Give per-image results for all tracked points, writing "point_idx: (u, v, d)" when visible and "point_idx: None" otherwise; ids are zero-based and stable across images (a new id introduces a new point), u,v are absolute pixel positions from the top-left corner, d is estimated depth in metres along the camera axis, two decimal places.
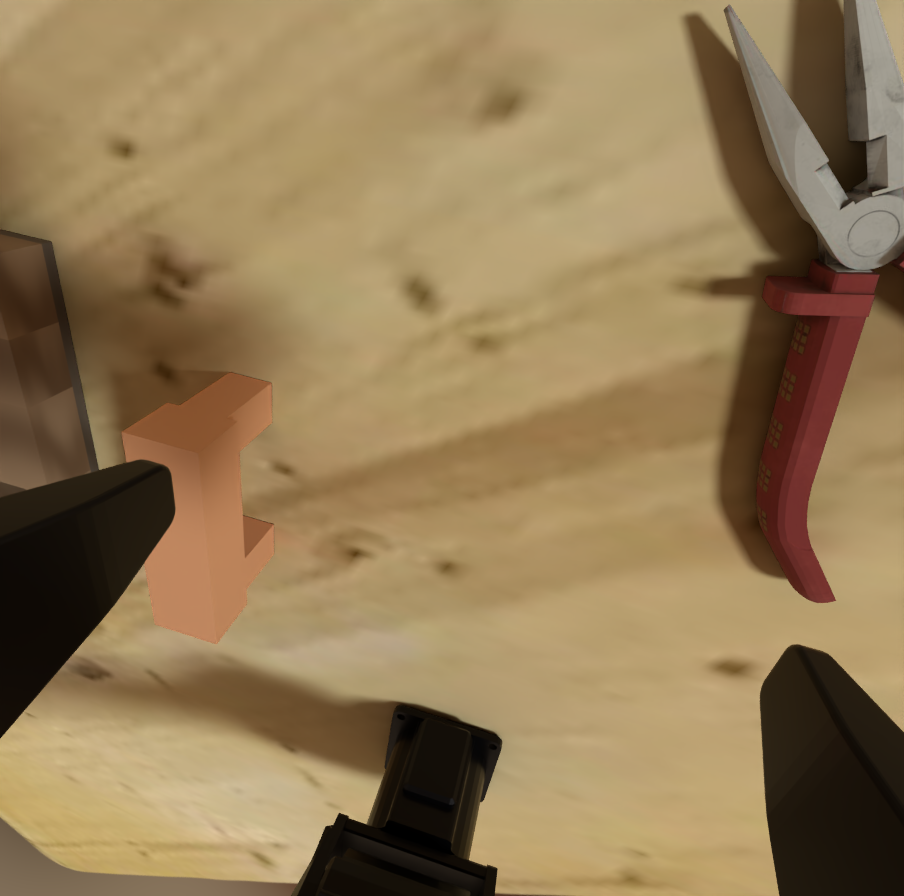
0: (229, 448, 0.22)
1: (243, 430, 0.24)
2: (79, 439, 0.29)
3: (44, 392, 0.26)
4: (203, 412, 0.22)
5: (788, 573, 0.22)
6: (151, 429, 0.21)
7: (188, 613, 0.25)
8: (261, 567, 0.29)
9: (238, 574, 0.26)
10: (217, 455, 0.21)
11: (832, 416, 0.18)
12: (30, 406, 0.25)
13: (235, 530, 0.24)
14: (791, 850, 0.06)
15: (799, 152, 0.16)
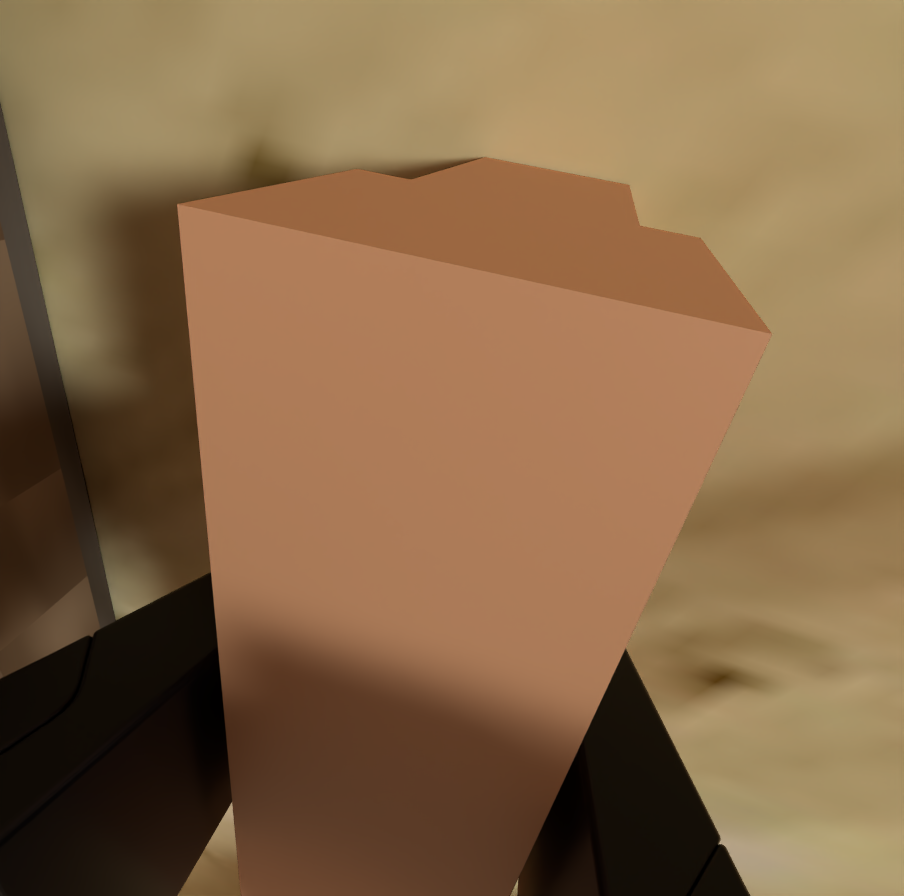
0: None
1: None
2: (30, 390, 0.11)
3: None
4: (529, 203, 0.05)
5: None
6: (354, 216, 0.03)
7: None
8: None
9: None
10: None
11: None
12: None
13: None
14: None
15: None
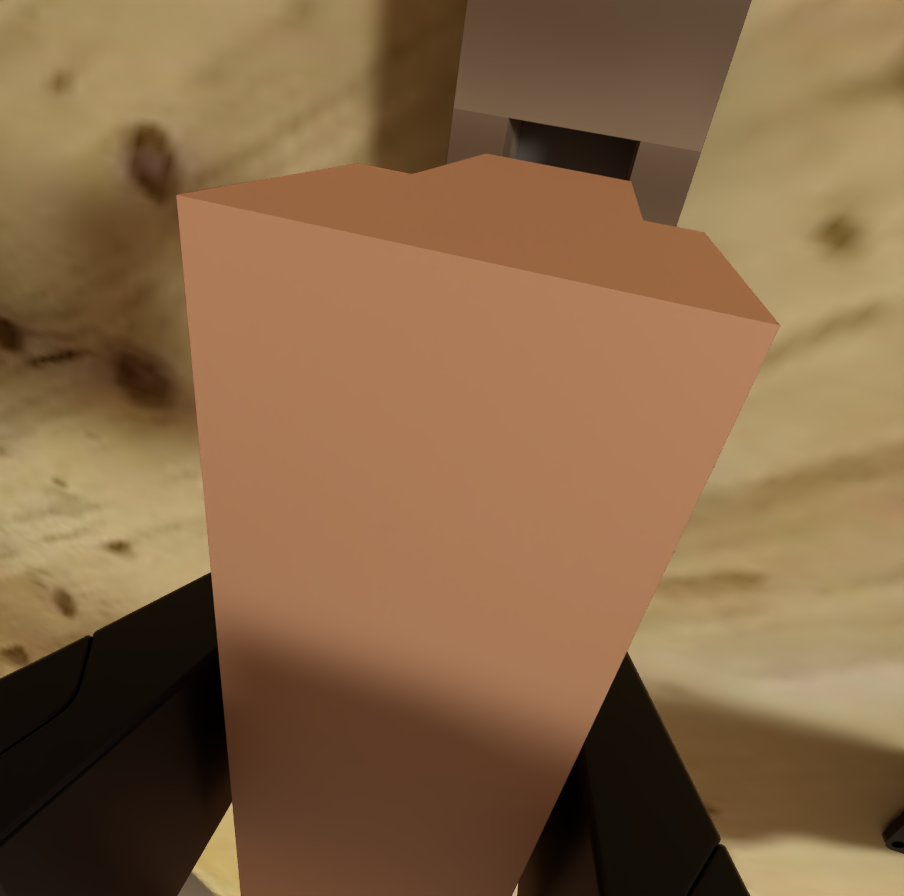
0: None
1: None
2: None
3: None
4: (531, 198, 0.05)
5: None
6: (355, 208, 0.03)
7: None
8: None
9: None
10: None
11: None
12: None
13: None
14: None
15: None
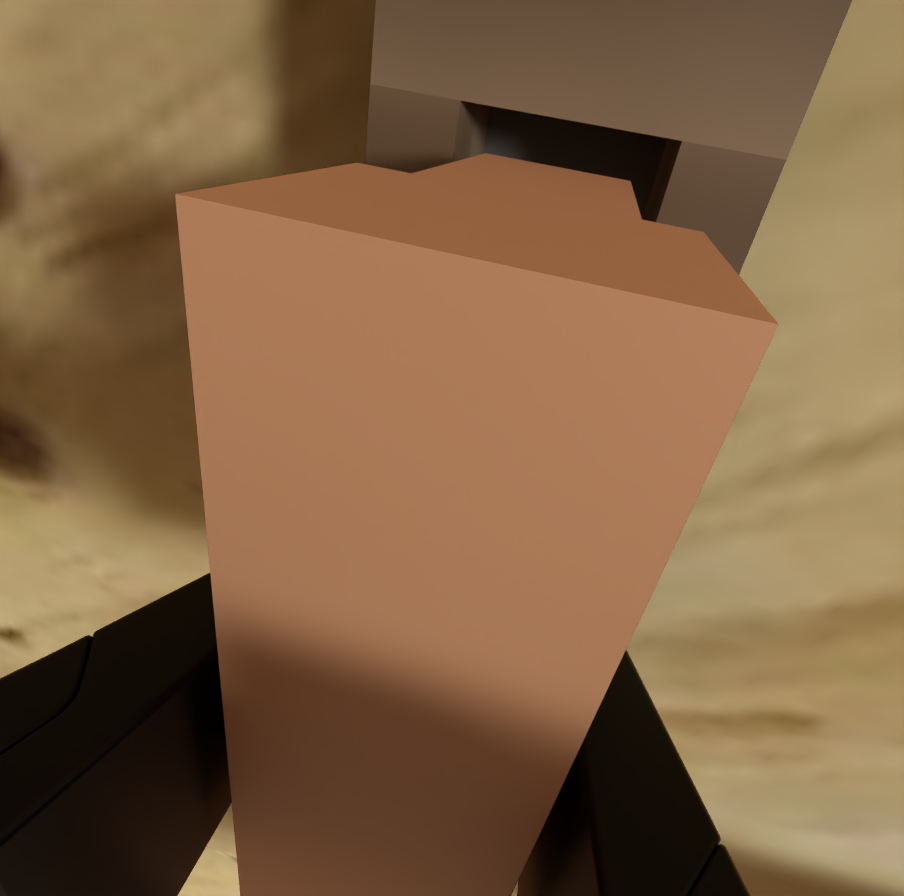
0: None
1: None
2: None
3: None
4: (530, 197, 0.05)
5: None
6: (353, 207, 0.03)
7: None
8: None
9: None
10: None
11: None
12: None
13: None
14: None
15: None
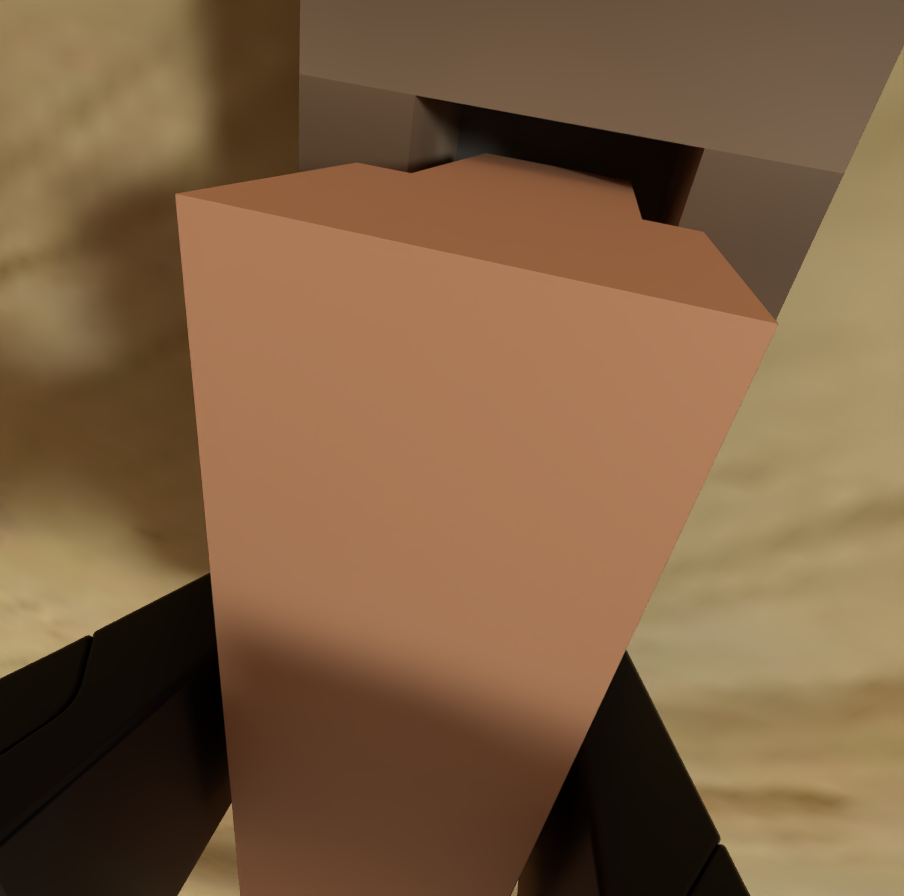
0: None
1: None
2: None
3: None
4: (530, 197, 0.05)
5: None
6: (354, 207, 0.03)
7: None
8: None
9: None
10: None
11: None
12: None
13: None
14: None
15: None
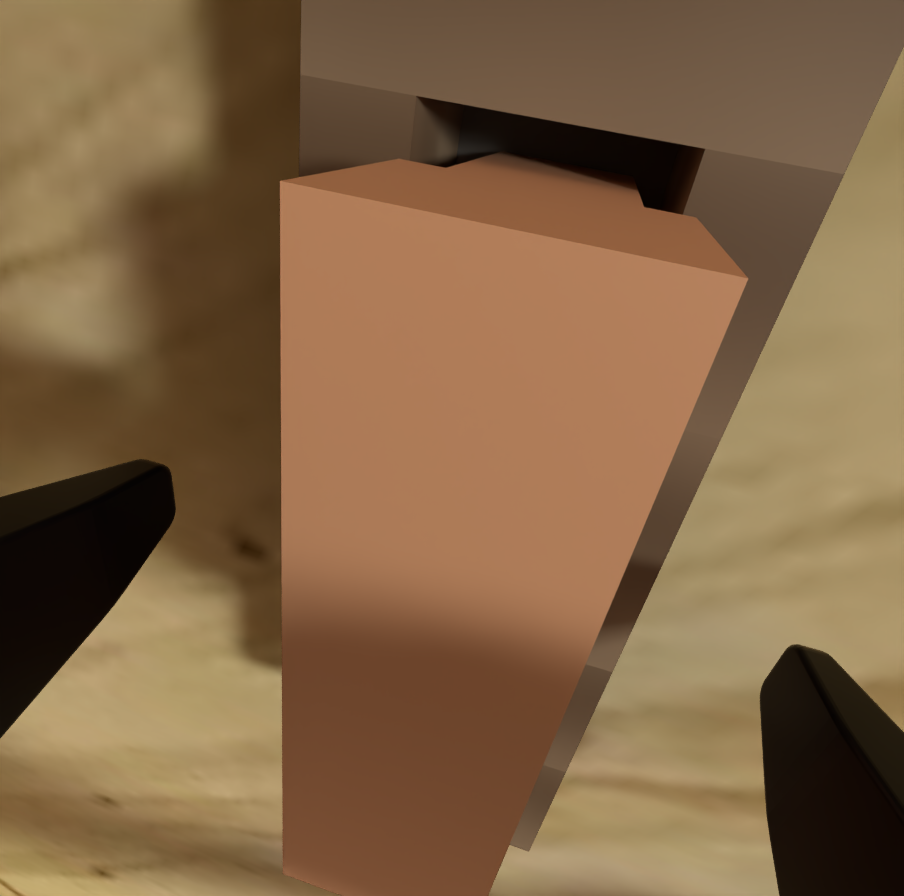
0: None
1: None
2: None
3: None
4: (548, 188, 0.06)
5: None
6: (413, 193, 0.04)
7: (401, 870, 0.08)
8: None
9: None
10: None
11: None
12: (711, 428, 0.08)
13: None
14: (791, 850, 0.06)
15: None
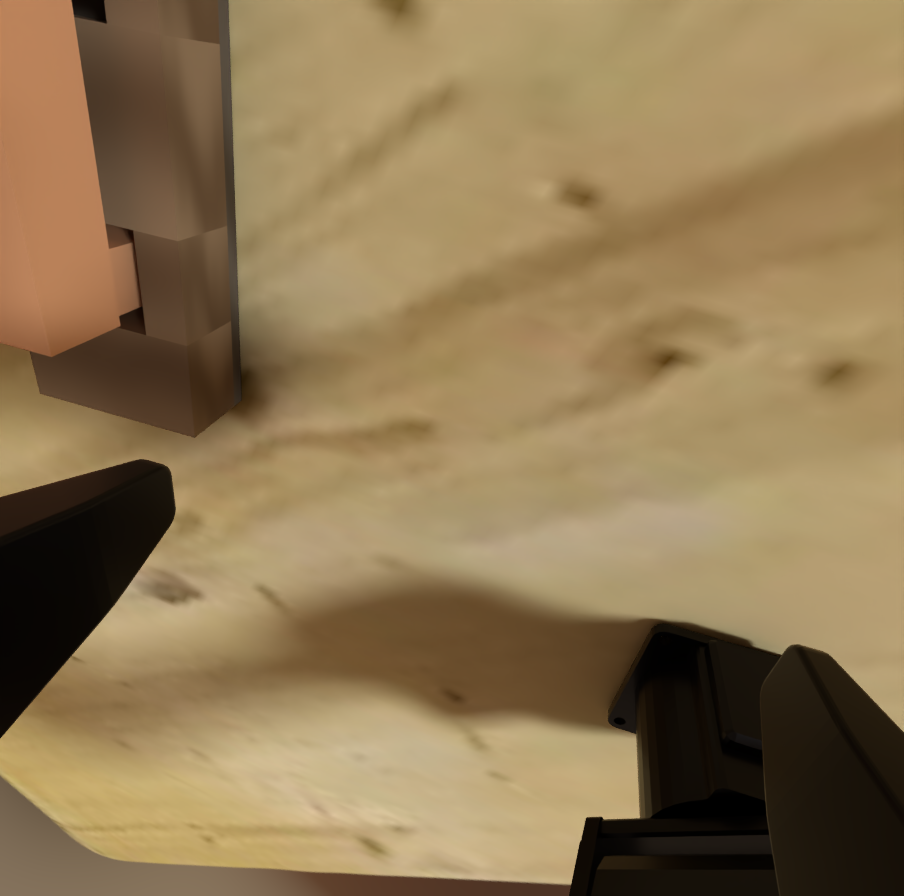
0: None
1: None
2: (219, 157, 0.17)
3: (185, 20, 0.14)
4: None
5: None
6: None
7: None
8: None
9: (90, 244, 0.15)
10: None
11: None
12: (163, 35, 0.14)
13: (73, 137, 0.14)
14: (791, 850, 0.06)
15: None
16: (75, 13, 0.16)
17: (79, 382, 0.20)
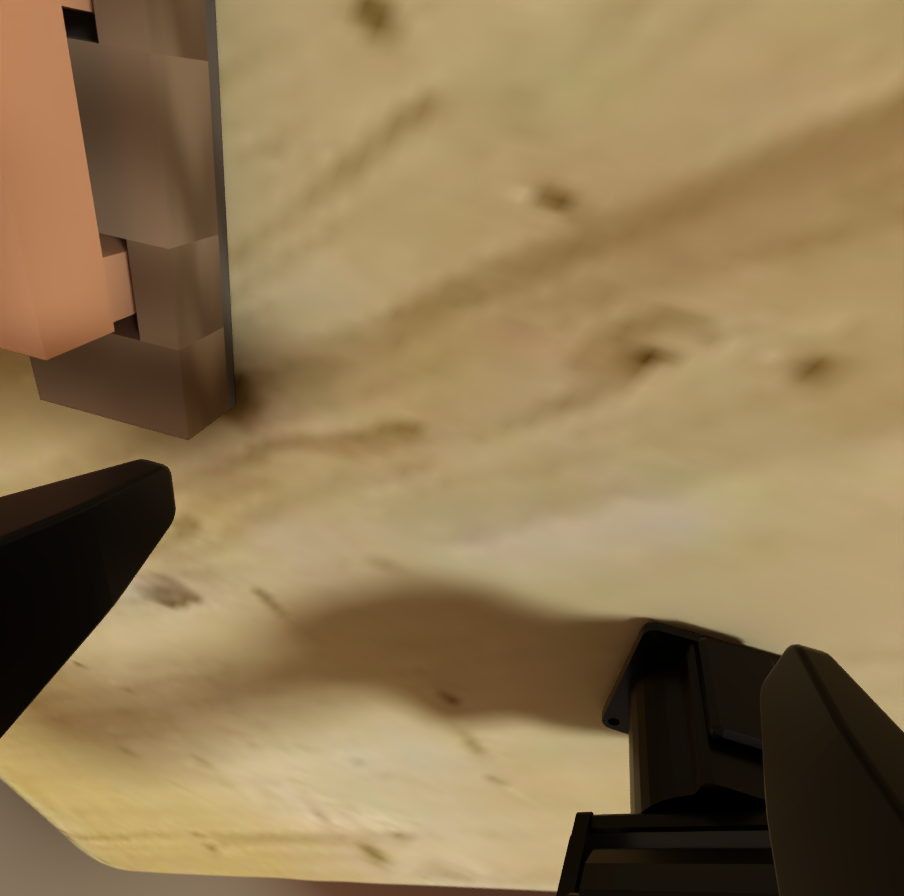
0: None
1: None
2: (209, 169, 0.18)
3: (173, 39, 0.15)
4: None
5: None
6: None
7: None
8: None
9: (84, 252, 0.16)
10: None
11: None
12: (152, 53, 0.15)
13: (66, 150, 0.14)
14: (791, 850, 0.06)
15: None
16: (72, 35, 0.17)
17: (77, 387, 0.20)
